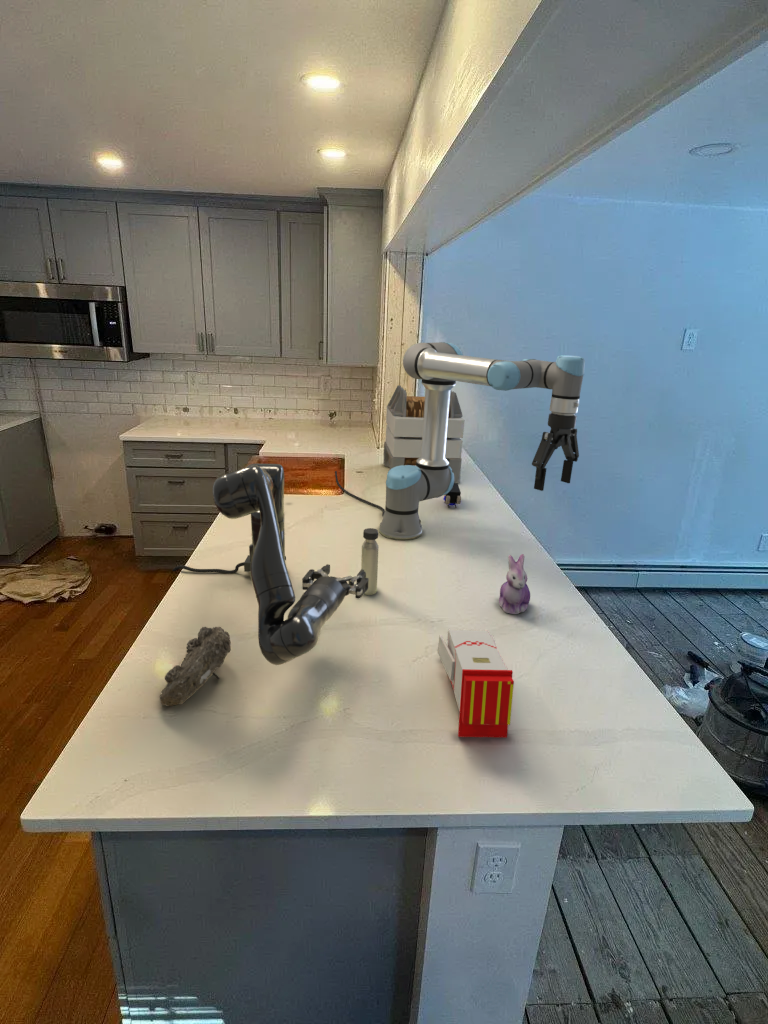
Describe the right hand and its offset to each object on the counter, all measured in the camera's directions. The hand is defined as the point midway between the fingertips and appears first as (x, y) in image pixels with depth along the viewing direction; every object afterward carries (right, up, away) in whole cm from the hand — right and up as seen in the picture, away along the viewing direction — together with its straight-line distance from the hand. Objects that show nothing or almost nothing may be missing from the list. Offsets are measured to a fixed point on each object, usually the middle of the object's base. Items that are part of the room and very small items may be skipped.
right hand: (552, 485), depth 166 cm
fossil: (-87, -42, -46) cm, 108 cm away
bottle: (-53, -30, -7) cm, 62 cm away
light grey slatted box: (-32, +11, +109) cm, 115 cm away
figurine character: (-22, -4, +67) cm, 71 cm away
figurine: (-14, -33, -12) cm, 38 cm away
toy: (-31, -45, -47) cm, 72 cm away
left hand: (-58, -21, -32) cm, 70 cm away
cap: (-53, -13, -13) cm, 56 cm away
